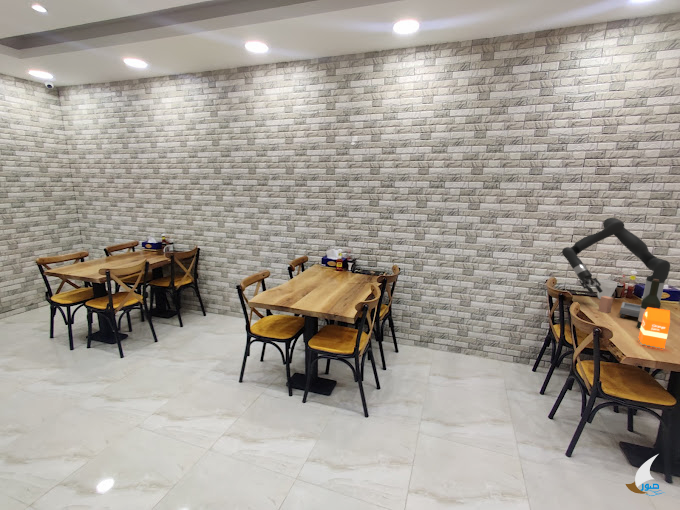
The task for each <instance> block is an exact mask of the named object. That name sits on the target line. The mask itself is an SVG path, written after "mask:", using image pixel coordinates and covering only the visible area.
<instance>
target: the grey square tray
mask: <svg viewBox="0 0 680 510" xmlns="http://www.w3.org/2000/svg"><path fill="white" fill-rule="evenodd" d="M640 308H641V304H637V303H636V304H635V303H630V302H626V301H622V303H621V305H620V310H619V314H620V317H621V318H623V319H625V317H626V315H627V316H631V317H635V318H639V313H640Z"/></svg>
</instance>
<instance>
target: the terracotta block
mask: <svg viewBox="0 0 680 510" xmlns="http://www.w3.org/2000/svg"><path fill="white" fill-rule="evenodd" d="M613 302H614V297H612V296H611V297H608V296H601V299H599V305H598V312H601V313H604V314H609V313H608V312H610V313H611V312H612V305H613Z"/></svg>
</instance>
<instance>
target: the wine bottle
mask: <svg viewBox="0 0 680 510" xmlns="http://www.w3.org/2000/svg"><path fill="white" fill-rule="evenodd" d="M659 283H660V281H659V280H658V279H653V280H652V283H651V288H650V292H649V295H647V296H646V297H645V298H644V299H642V298H641V304H640V305H641V308H640V313H639V317H637V318H638V319H637V323H636V328H637V327H638V328H637V329H639V328H641V324H642V319H643V315H644V313H645V311H646V309H647V307H650V308H656V309H661V305H662V303H661V301H659V299H658V297H657V292H658V288H659Z"/></svg>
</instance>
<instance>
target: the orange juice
mask: <svg viewBox="0 0 680 510" xmlns="http://www.w3.org/2000/svg"><path fill="white" fill-rule="evenodd" d="M670 325H671V310H670V309H669V310H668V309H661V308H660V309H656V308H650V307H647V309H646V311H645V313H644V315H643V319H642V324H641V328H640V329H639V335H638V338H639V340H640V342H641V343H642V344H646V345H650V346H655V347H660V348H664V349H665V347H666V342H667V338H668V334H669V329H670ZM639 340H638V341H639ZM640 342H639V343H640Z"/></svg>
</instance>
